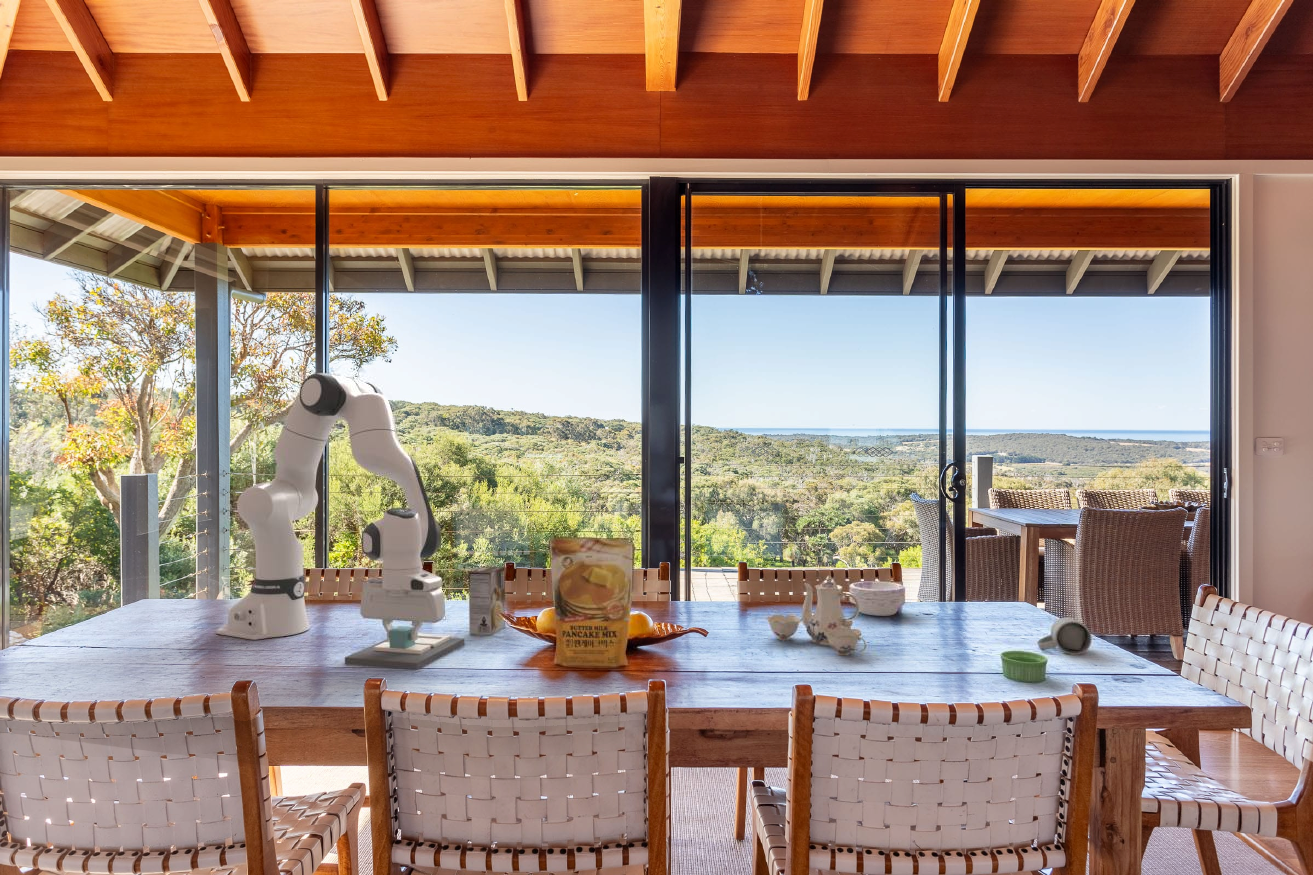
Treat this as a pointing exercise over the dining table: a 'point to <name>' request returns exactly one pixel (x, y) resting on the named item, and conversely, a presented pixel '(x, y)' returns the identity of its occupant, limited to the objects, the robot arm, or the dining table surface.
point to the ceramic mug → (1067, 637)
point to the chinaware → (822, 620)
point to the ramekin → (1024, 666)
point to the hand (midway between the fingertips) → (402, 639)
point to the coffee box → (486, 600)
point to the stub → (402, 642)
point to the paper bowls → (878, 597)
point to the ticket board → (407, 660)
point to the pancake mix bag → (591, 600)
